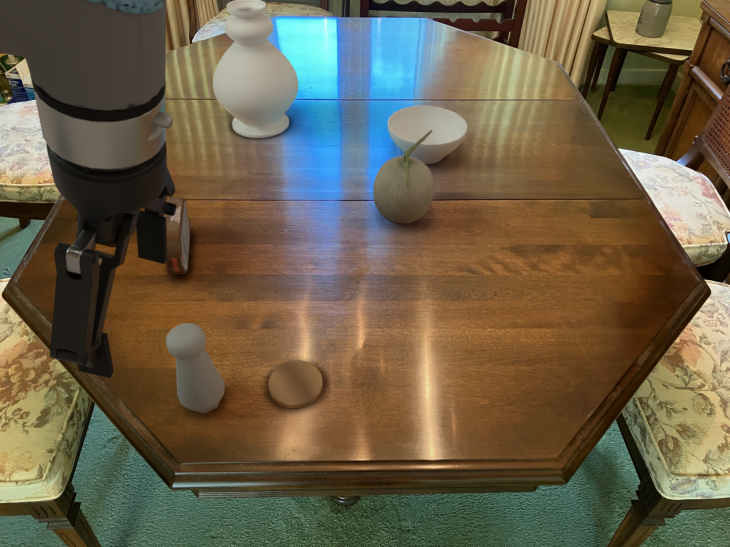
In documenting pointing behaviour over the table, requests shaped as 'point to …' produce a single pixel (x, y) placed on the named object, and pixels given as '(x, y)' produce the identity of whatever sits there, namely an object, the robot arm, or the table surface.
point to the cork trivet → (295, 384)
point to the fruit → (403, 188)
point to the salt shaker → (194, 369)
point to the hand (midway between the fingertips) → (126, 310)
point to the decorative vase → (254, 74)
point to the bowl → (418, 122)
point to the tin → (177, 238)
